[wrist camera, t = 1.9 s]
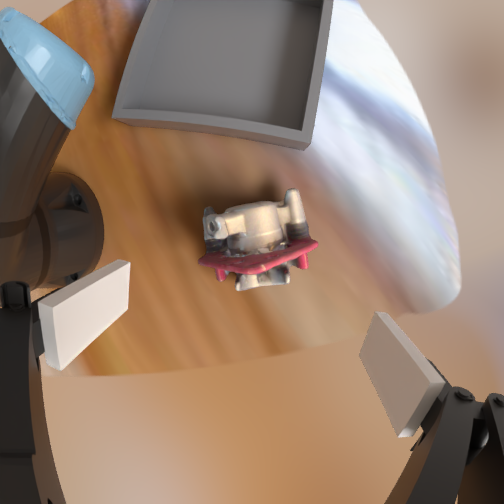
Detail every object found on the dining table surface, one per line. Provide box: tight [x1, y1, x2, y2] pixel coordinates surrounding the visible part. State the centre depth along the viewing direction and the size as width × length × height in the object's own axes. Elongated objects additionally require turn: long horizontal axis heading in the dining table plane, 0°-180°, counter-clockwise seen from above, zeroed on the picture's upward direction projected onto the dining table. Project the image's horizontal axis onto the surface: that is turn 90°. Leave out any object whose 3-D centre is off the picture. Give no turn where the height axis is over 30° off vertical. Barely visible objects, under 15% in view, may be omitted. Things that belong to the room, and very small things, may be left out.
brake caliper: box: [198, 188, 318, 291], centre depth 28 cm, size 11×11×12 cm
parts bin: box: [112, 0, 333, 151], centre depth 25 cm, size 20×20×5 cm
